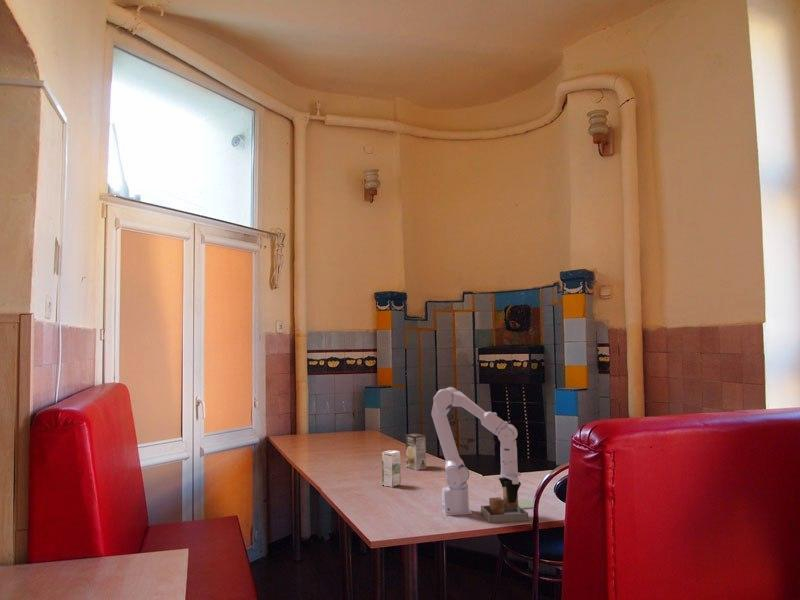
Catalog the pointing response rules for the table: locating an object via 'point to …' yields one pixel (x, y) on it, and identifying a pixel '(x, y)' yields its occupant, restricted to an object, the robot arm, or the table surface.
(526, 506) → the mat
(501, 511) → the plain block
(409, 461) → the coffee box
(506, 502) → the label block
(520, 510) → the bin
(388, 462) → the syrup box
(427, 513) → the table surface
